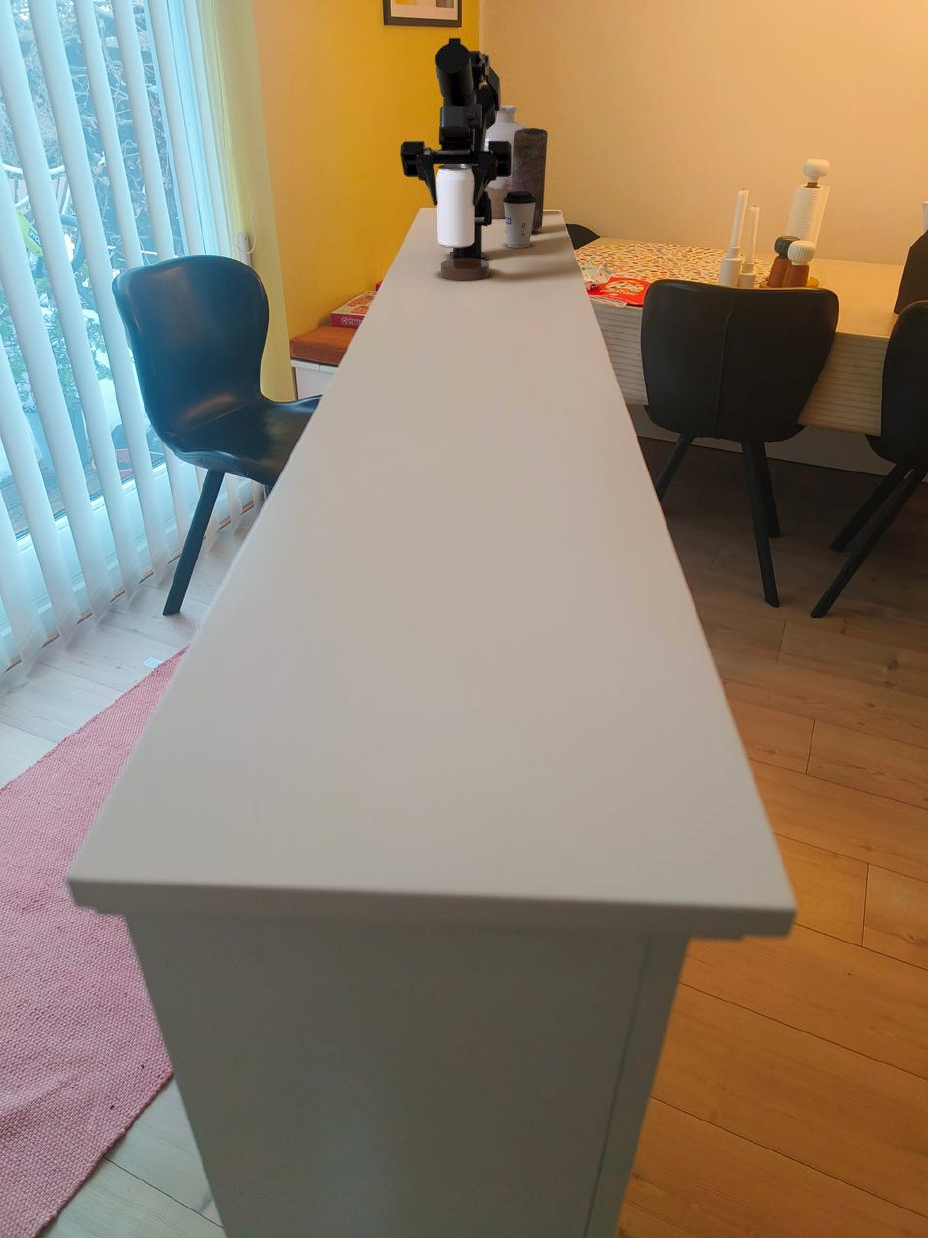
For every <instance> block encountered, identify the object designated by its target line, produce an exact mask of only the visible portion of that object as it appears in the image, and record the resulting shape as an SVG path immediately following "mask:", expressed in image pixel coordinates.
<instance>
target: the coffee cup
mask: <svg viewBox="0 0 928 1238" xmlns="http://www.w3.org/2000/svg"><path fill="white" fill-rule="evenodd" d="M503 202H504V207H505V218H504V219H505V227H506V228H505V229H506V240H507V241H506V242H507V247H509V248H514V249H523V248H529V247H530V244H531V237H532V232H531V230H532V223H533V216H534V209H535V202H537V201H536V198H535V197H533V196H532V193H531V192H527V191H513V192H508V193H507V197H504V200H503Z"/></svg>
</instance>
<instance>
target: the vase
mask: <svg viewBox="0 0 928 1238" xmlns="http://www.w3.org/2000/svg"><path fill="white" fill-rule="evenodd" d="M517 109H518V107H517V106H515V105H501V107H500V111H497V117H496V122H495V124H493V125H492V126H491V127H490V128H489V129H487V131H486V138H485V146H484V151H489V150H488V141H509V142H510V143H511V145H512V167H513V147H514V133H515V132H516V131H517V130H520V129H523V128H528V127H527V126H526V125H524V124H521V123H518V122H516V121H515V115H516V111H517ZM511 190H512V168H511V175H510V176H509V177H497V179H496V180H495V181H490V183H489V184H488V185H487V187H486V188H485V191H488V195H489V198H490V199H491V208H492V219H506V218H505V207H504V202H503V200H504V197H507V193H508V192H511Z"/></svg>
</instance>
